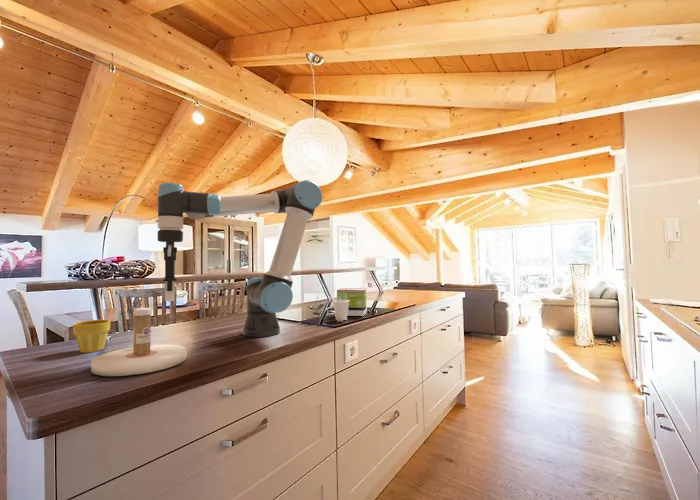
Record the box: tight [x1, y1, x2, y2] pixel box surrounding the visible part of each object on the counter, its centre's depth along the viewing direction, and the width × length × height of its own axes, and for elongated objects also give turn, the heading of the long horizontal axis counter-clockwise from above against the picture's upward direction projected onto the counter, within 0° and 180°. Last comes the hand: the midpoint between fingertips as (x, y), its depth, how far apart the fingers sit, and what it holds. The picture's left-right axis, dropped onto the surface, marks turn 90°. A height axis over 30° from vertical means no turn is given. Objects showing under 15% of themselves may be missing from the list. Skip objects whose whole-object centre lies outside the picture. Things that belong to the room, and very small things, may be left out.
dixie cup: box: [332, 299, 349, 322], centre depth 173 cm, size 8×8×10 cm
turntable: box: [90, 340, 188, 377], centre depth 102 cm, size 24×24×7 cm
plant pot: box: [72, 319, 111, 354], centre depth 120 cm, size 10×10×10 cm
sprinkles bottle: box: [132, 307, 152, 356], centre depth 102 cm, size 5×5×14 cm
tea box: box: [336, 287, 367, 317], centre depth 188 cm, size 15×10×15 cm
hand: (169, 300), depth 114 cm, fingers closed
